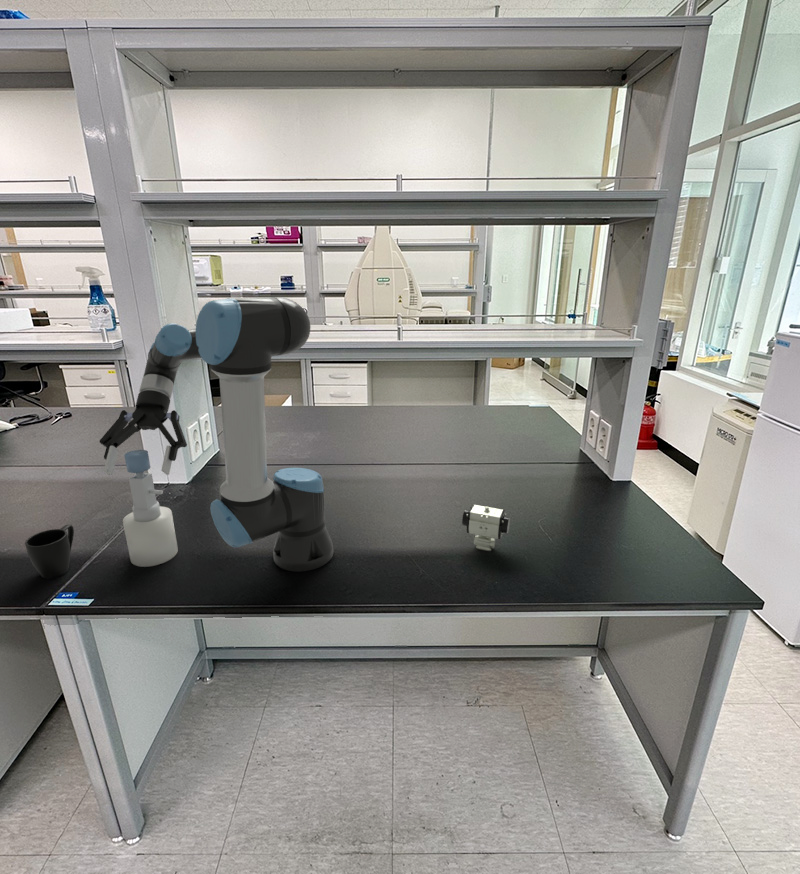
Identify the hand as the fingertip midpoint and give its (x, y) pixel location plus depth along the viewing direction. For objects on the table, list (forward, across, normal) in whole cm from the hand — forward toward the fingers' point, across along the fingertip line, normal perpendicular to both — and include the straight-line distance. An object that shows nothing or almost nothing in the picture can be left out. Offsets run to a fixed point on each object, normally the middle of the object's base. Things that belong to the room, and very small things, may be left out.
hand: (136, 472), depth 117 cm
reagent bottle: (+16, 0, -17) cm, 23 cm away
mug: (+20, +20, -14) cm, 31 cm away
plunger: (+5, 0, -7) cm, 9 cm away
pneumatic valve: (+14, -86, -19) cm, 89 cm away
